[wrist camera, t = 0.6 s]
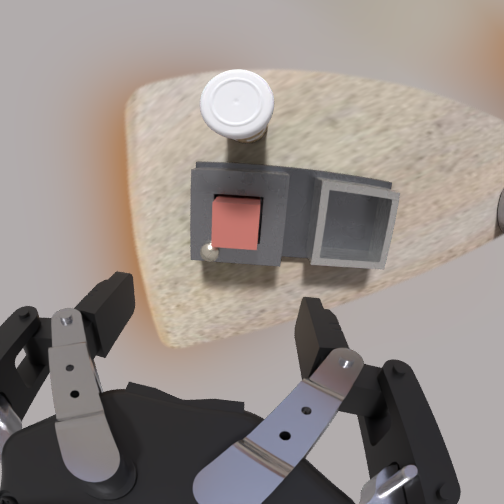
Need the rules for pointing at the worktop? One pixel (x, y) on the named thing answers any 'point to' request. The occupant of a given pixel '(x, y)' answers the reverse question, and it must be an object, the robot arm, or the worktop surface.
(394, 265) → the worktop surface
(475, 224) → the worktop surface
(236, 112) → the sprinkles bottle
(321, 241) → the grey push button box
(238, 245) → the button
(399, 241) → the worktop surface
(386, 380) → the robot arm
